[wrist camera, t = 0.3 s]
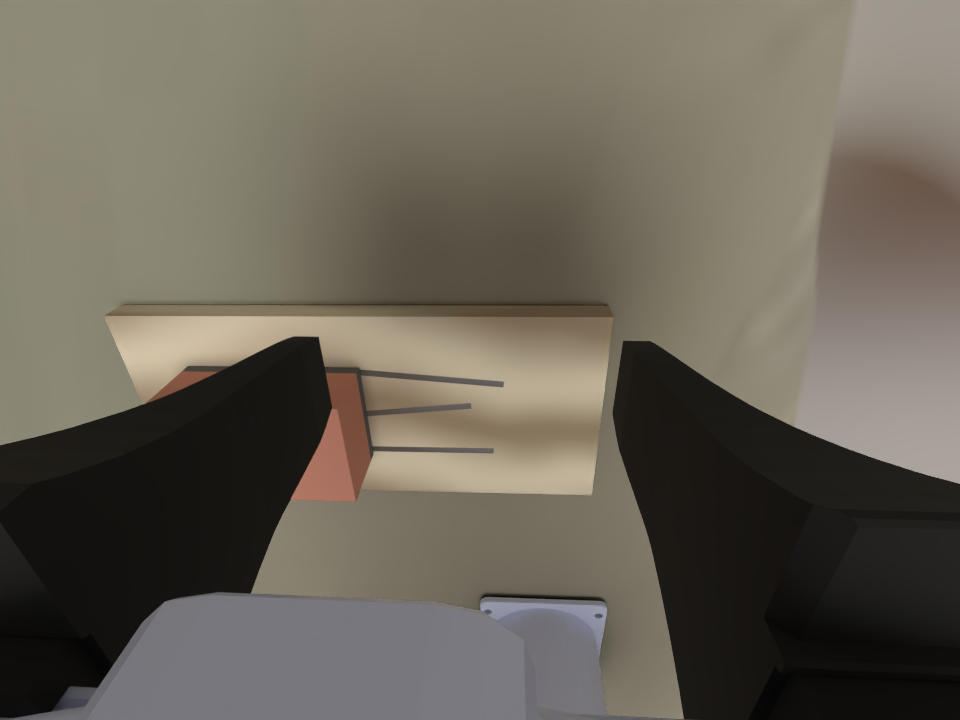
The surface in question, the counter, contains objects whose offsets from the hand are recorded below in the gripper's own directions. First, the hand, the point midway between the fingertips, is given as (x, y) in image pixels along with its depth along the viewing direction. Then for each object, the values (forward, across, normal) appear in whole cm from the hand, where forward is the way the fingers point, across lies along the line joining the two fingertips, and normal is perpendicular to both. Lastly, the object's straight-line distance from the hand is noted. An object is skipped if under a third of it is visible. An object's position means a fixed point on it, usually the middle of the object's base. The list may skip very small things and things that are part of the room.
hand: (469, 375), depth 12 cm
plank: (+10, +6, +8) cm, 14 cm away
